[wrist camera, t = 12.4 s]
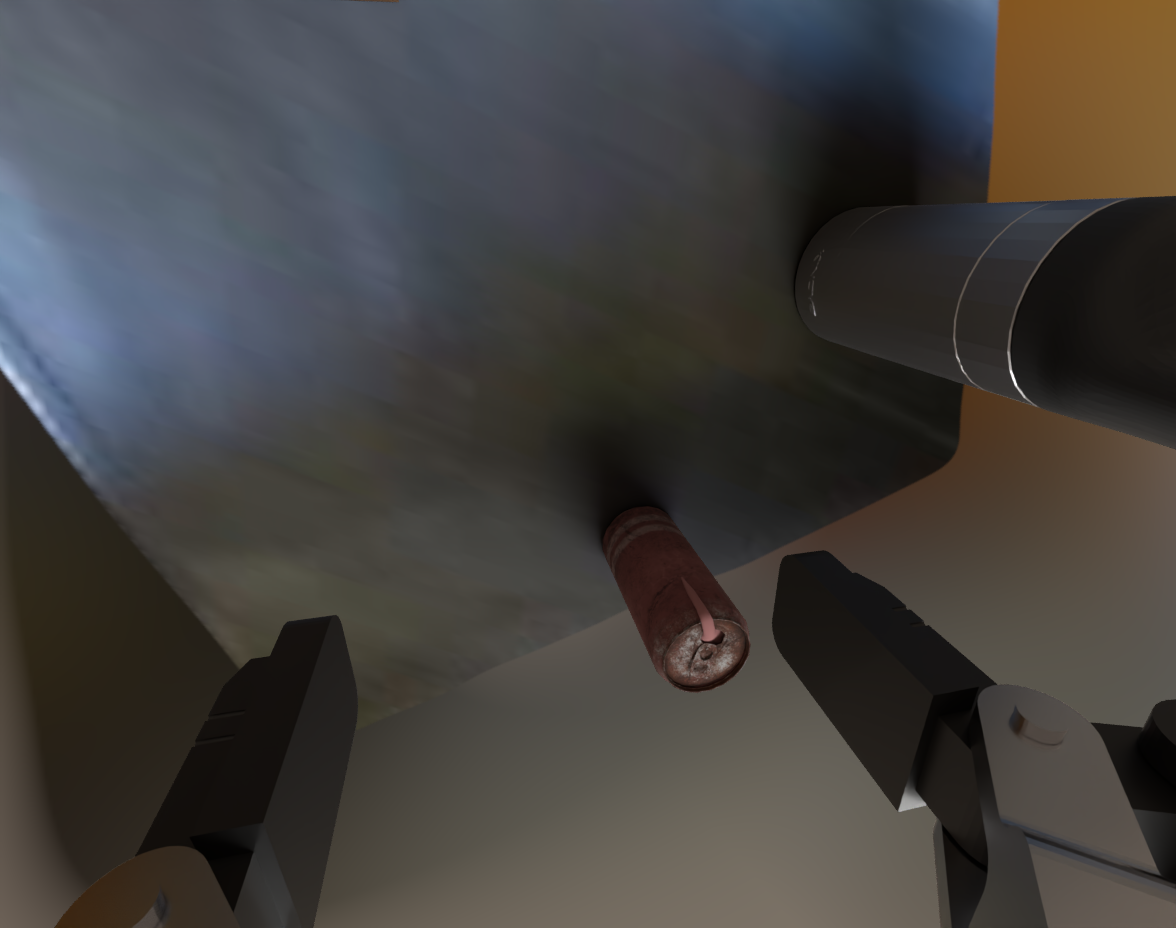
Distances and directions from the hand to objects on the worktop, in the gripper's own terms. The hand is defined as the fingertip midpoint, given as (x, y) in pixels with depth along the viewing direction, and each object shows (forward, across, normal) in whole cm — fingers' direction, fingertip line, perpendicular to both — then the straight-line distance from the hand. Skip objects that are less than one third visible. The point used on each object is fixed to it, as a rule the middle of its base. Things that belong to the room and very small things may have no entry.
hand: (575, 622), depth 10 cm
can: (+30, -10, +17) cm, 35 cm away
